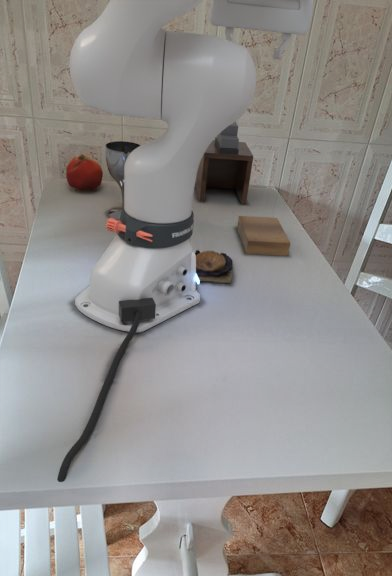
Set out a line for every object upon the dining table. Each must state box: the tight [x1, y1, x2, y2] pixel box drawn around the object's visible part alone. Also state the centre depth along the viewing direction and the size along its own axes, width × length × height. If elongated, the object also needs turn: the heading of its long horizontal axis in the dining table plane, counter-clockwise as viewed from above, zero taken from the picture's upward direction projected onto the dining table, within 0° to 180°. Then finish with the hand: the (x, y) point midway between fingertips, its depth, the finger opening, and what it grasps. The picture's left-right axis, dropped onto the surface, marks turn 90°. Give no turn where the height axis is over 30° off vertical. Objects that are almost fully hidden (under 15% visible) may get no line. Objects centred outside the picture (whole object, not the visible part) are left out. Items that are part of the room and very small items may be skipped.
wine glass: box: [104, 140, 142, 221], centre depth 108 cm, size 8×8×15 cm
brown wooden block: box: [236, 215, 291, 257], centre depth 107 cm, size 13×9×3 cm
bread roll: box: [194, 249, 234, 284], centre depth 94 cm, size 11×8×4 cm
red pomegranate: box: [65, 153, 104, 191], centre depth 121 cm, size 9×9×8 cm
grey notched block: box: [214, 121, 240, 155], centre depth 119 cm, size 10×5×6 cm, turn 5°
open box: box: [195, 139, 254, 205], centre depth 125 cm, size 12×12×12 cm
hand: (254, 56), depth 100 cm, fingers open, 8 cm apart
